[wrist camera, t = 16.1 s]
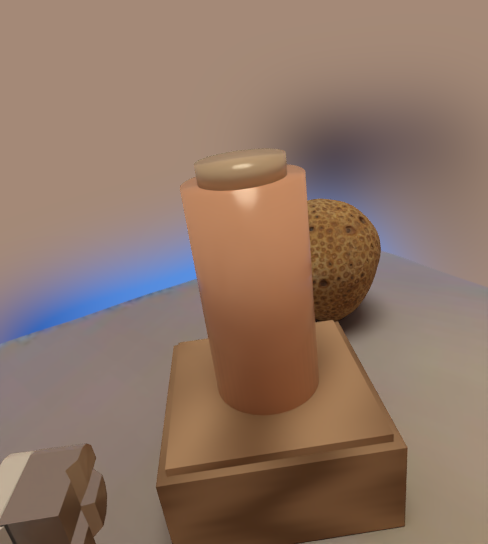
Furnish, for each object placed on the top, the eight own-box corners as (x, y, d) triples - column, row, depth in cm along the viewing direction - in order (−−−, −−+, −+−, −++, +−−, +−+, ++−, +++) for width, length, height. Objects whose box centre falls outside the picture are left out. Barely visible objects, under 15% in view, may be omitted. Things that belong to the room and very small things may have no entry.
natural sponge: (259, 349, 33) (243, 223, 29) (273, 294, 41) (262, 189, 37) (385, 349, 31) (387, 214, 27) (374, 291, 39) (374, 180, 35)
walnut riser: (177, 562, 19) (153, 479, 17) (187, 405, 28) (172, 340, 26) (404, 525, 19) (407, 439, 17) (340, 382, 28) (337, 315, 26)
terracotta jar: (218, 422, 19) (170, 181, 15) (217, 356, 24) (180, 156, 19) (330, 406, 19) (316, 160, 15) (307, 343, 24) (292, 140, 19)
